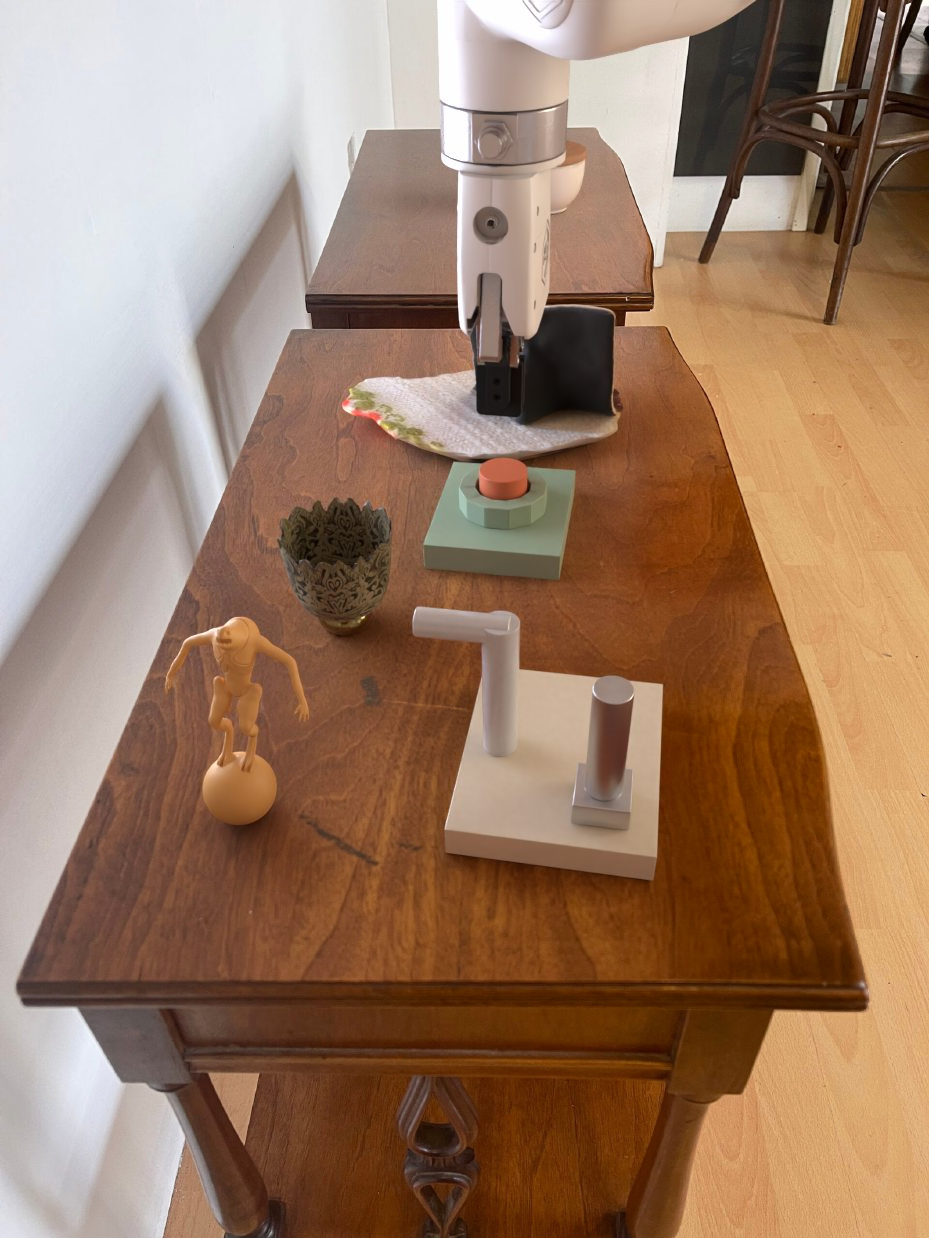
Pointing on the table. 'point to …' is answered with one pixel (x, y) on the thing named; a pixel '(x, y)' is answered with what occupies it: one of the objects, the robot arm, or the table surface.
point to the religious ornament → (553, 396)
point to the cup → (338, 561)
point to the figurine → (239, 779)
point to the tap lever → (606, 758)
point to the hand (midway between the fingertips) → (500, 410)
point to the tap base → (541, 759)
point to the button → (503, 479)
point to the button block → (501, 525)
